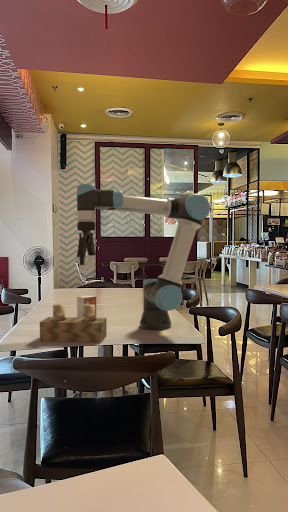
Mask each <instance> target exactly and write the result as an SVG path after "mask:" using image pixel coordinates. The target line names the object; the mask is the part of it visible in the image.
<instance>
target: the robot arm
mask: <svg viewBox="0 0 288 512" xmlns="http://www.w3.org/2000/svg"><path fill="white" fill-rule="evenodd" d="M96 209H97V210H99V211H114V212H115V211H116V212H124V213H134V214H135V213H136V214H148V215H157V216H164V217H165V218H166V219H173V220H176V221H177V227H176V230H175V233H174V234H175V235H174V237H173V240H172V244H171V246H170V250H169V252H168V255H167V258H166V261H165V266H164V268H163V271H162V274H160V275H158V276H157V278H148V279H144V280H143V286H142V288H143V289H142V291H143V292H142V294H143V295H142V296H143V297H142V298H143V299H142V300H143V307H142V308H143V311H142V314H141V318H140V321H139V327H140V328H142V329H144V330H145V329H146V330H157V331H158V330H165V329H166V330H167V329H169V328H171V327H172V321H171V317H170V314H169V311H174V310H175V309H177V308H178V307H179V306H180V305H181V303H182V302H183V293H182V288H183V282H182V277H183V274H184V271H185V267H186V263H187V261H188V258H189V254H190V251H191V248H192V245H193V242H194V238H195V235H196V233H197V230H198V229H200V228H201V227H202V226H203V225H202V224H203V221H204V219H206V218H207V217H208V216H209V214H210V212H211V205H210V202H209V199H208V198H207V197H206V196H205V195H203V194H199V193H191V194H188V195H186V196H182V197H167V198H165V199H164V198H161V199H160V198H155V197H154V198H152V197H145V196H143V197H142V196H136V195H135V196H134V195H124V193H123V191H122V190H117V189H97V188H96V185H95V184H93V183H92V184H91V183H80V184H78V185H77V186H76V210H77V211H76V212H77V213H75V215H76V219H77V222H76V225H77V231H79V233H78V235H79V236H78V245H77V253H76V257H77V258H78V263H79V264H78V269H79V270H78V272H79V274H87V271H94V270H95V256H96V255H97V253H96V249H95V240H94V232H95V230H96ZM80 231H81V232H80ZM92 231H93V232H92ZM86 255H87V256H86Z"/></svg>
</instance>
